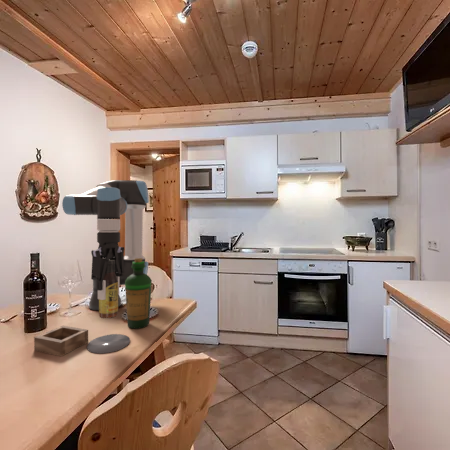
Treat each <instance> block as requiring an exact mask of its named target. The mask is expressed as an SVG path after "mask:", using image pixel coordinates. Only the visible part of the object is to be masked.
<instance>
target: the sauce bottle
mask: <svg viewBox="0 0 450 450" xmlns="http://www.w3.org/2000/svg"><path fill="white" fill-rule="evenodd" d="M104 280H106V299H105V300H100V299H99V310H98V313H99V314H98V315H99V318H101V319H111V318H114V317H117V315H118V311H119V307H118V280H117V277H116V275H115V260H110V259H109V261H108V263H107V267H106V271H105V276H104Z"/></svg>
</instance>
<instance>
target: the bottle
mask: <svg viewBox="0 0 450 450" xmlns="http://www.w3.org/2000/svg"><path fill="white" fill-rule="evenodd" d="M134 260H135V261H134V262H133V263H132V268H133V274H131V275H130V276H129V277H127V279H126V280H125V285H124V289H125V302H126V319H127V327H128V328H129V329H135V330H136V329H143V328H145V327H147V326H148V325H150V316H151V315H150V314H151V299H152V297H151V296H152V295H151V294H152V283H153V282H152V279H151V277H150V275H148V274H147V275H146V274H145V273H143V272H144V267H145V263H144V261H142V258H135V259H134Z"/></svg>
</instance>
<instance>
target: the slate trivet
mask: <svg viewBox="0 0 450 450" xmlns="http://www.w3.org/2000/svg"><path fill="white" fill-rule="evenodd" d="M130 339H131V338H130V336H127V335H125V334H120V333H119V334H118V333H112V334H105V335H102V336H98V337H95V338H93V339H92V340H90V341H88V343H87V344H86V349H87V351H89V352H90V353H93V354H110V353H114V352H118V351H120V350H122V349H124V348H126V347H128V346H129V344H130V343H131V340H130Z"/></svg>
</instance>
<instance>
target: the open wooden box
mask: <svg viewBox="0 0 450 450" xmlns="http://www.w3.org/2000/svg"><path fill="white" fill-rule="evenodd" d="M33 343H34V347H33V348H34V351H36V352H40V353H43V354H48V355H53V356H57V357H62V356H65V355H66V354H69V353H71V352H72V351H74V350H76V349H78V348H80V347H82V346H84V345H87V344H88V343H89V329H85V328H79V327H73V326H70V325H69V326H68V325H61V326H59V327H56V328H53V329H51V330H48V331H46V332H43V333H40V334H39V335H36V336H34V337H33Z"/></svg>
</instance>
